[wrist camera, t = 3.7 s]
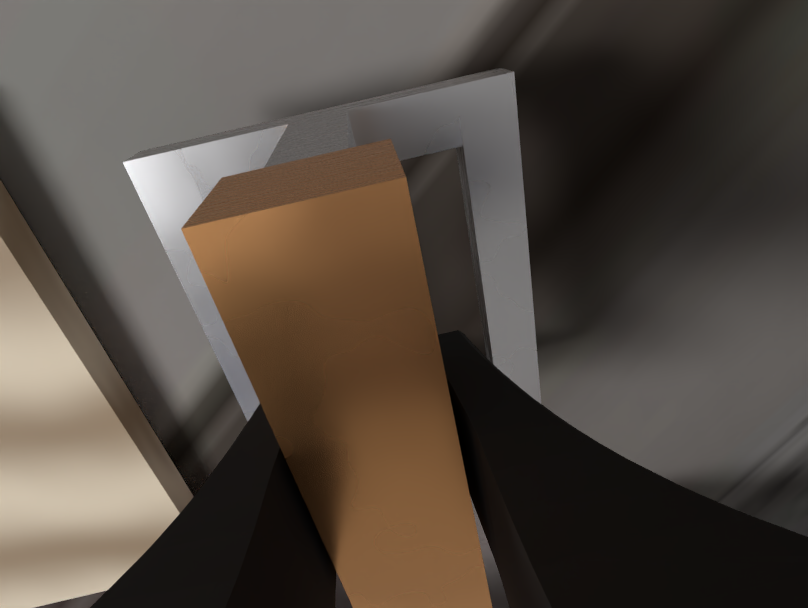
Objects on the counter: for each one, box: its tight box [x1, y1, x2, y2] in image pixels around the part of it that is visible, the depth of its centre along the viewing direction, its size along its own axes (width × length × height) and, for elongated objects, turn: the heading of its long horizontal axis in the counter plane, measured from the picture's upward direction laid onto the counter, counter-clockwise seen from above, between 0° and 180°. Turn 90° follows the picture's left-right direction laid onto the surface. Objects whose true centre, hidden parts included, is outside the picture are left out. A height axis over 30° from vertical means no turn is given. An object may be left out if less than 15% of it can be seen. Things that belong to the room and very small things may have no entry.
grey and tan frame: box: [123, 68, 541, 608], centre depth 11 cm, size 10×8×6 cm
